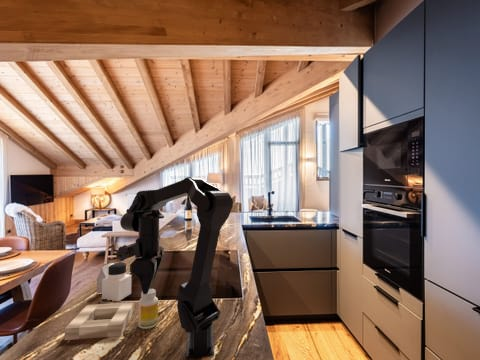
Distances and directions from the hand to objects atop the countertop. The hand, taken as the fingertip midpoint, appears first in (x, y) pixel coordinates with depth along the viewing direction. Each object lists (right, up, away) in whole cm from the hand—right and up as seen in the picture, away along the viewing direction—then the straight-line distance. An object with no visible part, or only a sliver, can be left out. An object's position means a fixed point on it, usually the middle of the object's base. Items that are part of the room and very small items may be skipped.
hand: (148, 287), depth 77 cm
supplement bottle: (0, -11, 0) cm, 11 cm away
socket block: (-13, -11, 0) cm, 17 cm away
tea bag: (-24, -12, +24) cm, 36 cm away
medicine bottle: (-18, -11, +19) cm, 29 cm away
